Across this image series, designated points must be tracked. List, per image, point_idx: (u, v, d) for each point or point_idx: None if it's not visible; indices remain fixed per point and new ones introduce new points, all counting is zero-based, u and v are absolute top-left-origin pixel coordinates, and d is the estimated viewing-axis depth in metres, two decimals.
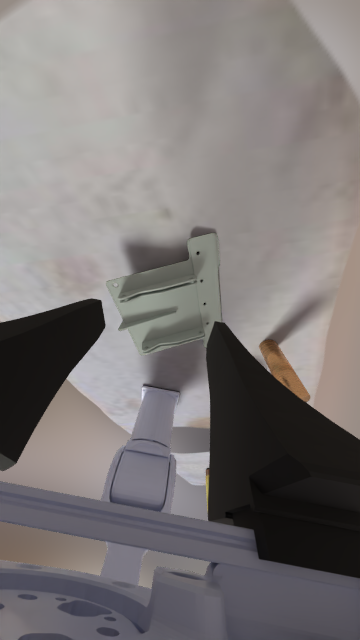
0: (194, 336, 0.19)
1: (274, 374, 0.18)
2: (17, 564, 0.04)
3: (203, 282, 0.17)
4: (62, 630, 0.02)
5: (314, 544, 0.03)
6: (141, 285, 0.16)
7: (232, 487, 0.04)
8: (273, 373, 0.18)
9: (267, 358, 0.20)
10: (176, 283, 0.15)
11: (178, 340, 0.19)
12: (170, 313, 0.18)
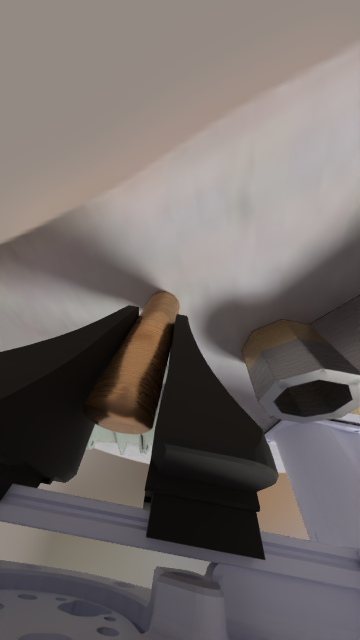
0: None
1: None
2: (17, 564, 0.04)
3: None
4: (62, 630, 0.02)
5: (199, 522, 0.03)
6: None
7: None
8: None
9: None
10: None
11: None
12: None
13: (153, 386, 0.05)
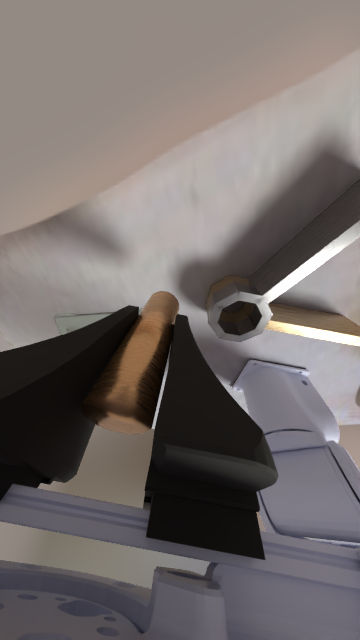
0: None
1: None
2: (17, 564, 0.04)
3: None
4: (62, 630, 0.02)
5: (199, 522, 0.03)
6: None
7: None
8: None
9: None
10: None
11: None
12: None
13: (152, 385, 0.05)
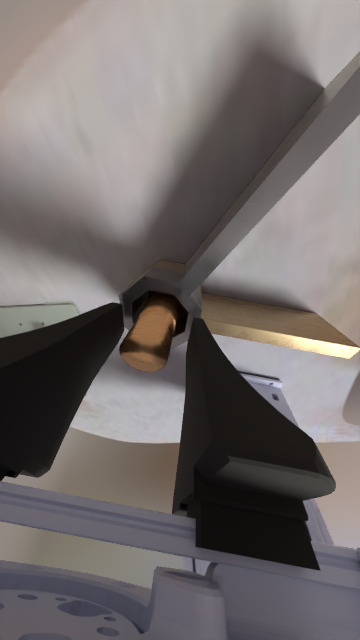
0: None
1: None
2: (17, 564, 0.04)
3: (0, 323, 0.18)
4: (62, 630, 0.02)
5: (250, 532, 0.03)
6: None
7: (185, 478, 0.04)
8: None
9: None
10: None
11: None
12: None
13: (167, 335, 0.08)
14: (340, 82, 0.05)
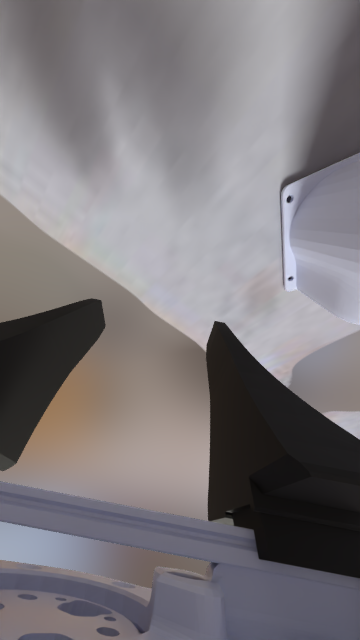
0: None
1: None
2: (17, 564, 0.04)
3: None
4: (62, 630, 0.02)
5: (314, 544, 0.03)
6: None
7: (232, 487, 0.04)
8: None
9: None
10: None
11: None
12: None
13: None
14: None
